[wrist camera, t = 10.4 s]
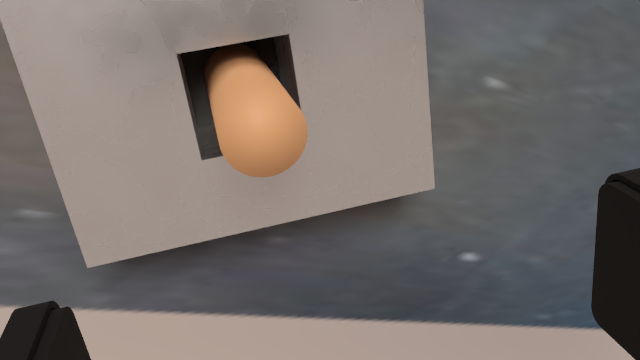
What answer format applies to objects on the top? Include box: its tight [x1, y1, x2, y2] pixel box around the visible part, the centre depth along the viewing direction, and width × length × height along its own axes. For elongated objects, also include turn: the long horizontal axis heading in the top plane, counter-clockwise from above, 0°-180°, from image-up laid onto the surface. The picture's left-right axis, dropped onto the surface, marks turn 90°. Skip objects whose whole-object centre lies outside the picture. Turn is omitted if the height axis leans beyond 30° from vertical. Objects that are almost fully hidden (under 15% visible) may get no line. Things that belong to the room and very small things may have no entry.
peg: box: [204, 44, 308, 177], centre depth 24 cm, size 3×3×10 cm
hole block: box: [0, 0, 435, 268], centre depth 26 cm, size 16×12×5 cm
